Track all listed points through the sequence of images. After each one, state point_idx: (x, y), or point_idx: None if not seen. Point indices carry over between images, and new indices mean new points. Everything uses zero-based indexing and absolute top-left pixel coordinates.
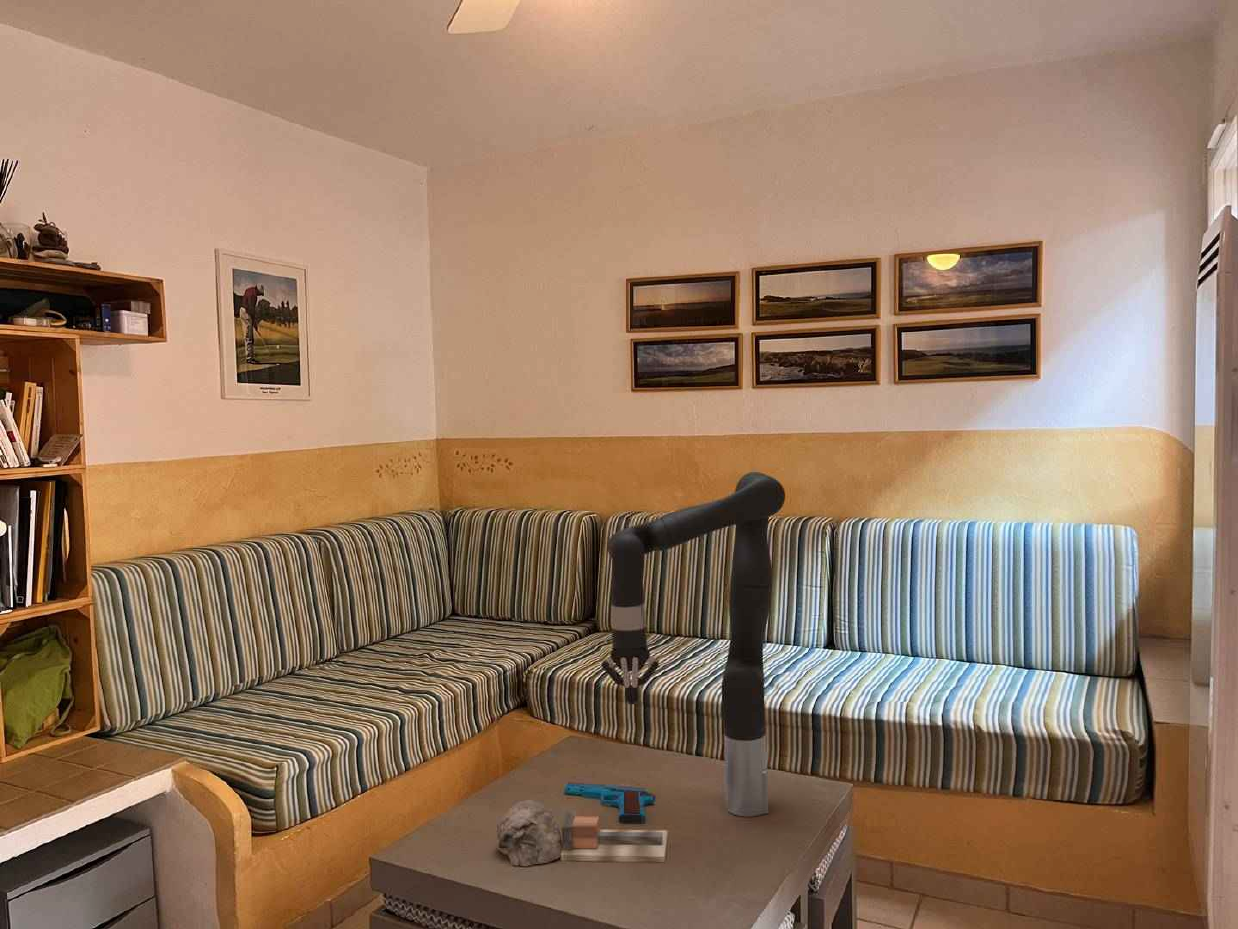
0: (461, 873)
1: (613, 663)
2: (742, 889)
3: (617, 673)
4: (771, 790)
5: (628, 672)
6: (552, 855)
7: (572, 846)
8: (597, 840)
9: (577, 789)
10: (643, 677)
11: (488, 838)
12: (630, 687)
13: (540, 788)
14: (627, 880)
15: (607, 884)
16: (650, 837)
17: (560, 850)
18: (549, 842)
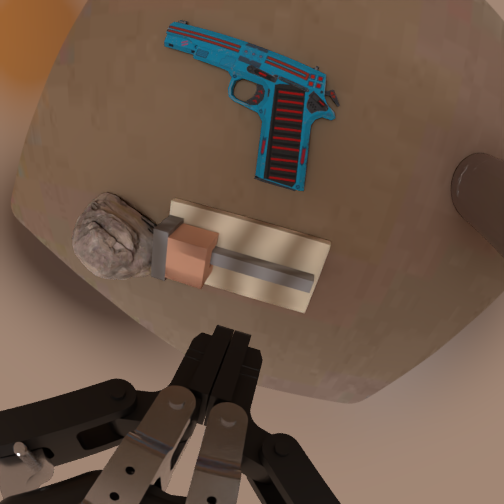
0: (74, 260)
1: (39, 472)
2: (371, 371)
3: (89, 426)
4: None
5: (160, 488)
6: None
7: None
8: (210, 268)
9: (186, 48)
10: (262, 497)
11: (78, 186)
12: (199, 419)
13: (131, 24)
14: (250, 329)
15: None
16: (292, 287)
17: None
18: (143, 275)
